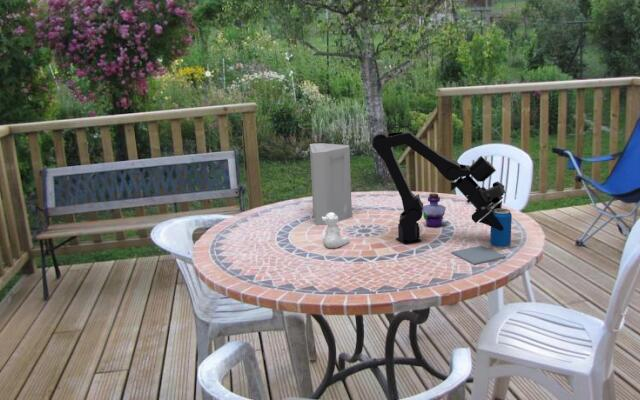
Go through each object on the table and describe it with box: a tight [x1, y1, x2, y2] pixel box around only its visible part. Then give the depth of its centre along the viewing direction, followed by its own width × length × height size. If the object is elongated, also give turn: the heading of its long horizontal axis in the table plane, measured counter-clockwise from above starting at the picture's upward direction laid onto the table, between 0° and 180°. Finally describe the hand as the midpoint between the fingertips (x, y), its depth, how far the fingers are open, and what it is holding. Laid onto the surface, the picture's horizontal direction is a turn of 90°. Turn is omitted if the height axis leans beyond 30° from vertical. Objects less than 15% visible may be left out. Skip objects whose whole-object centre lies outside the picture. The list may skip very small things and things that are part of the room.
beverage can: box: [490, 208, 513, 249], centre depth 209 cm, size 6×6×12 cm
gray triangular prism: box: [309, 142, 353, 226], centre depth 247 cm, size 19×15×28 cm
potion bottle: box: [422, 193, 447, 229], centre depth 233 cm, size 9×9×12 cm
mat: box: [450, 244, 507, 266], centre depth 202 cm, size 12×12×1 cm
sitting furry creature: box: [322, 212, 351, 249], centre depth 217 cm, size 10×9×12 cm
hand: (505, 226), depth 208 cm, fingers closed on beverage can, 6 cm apart
